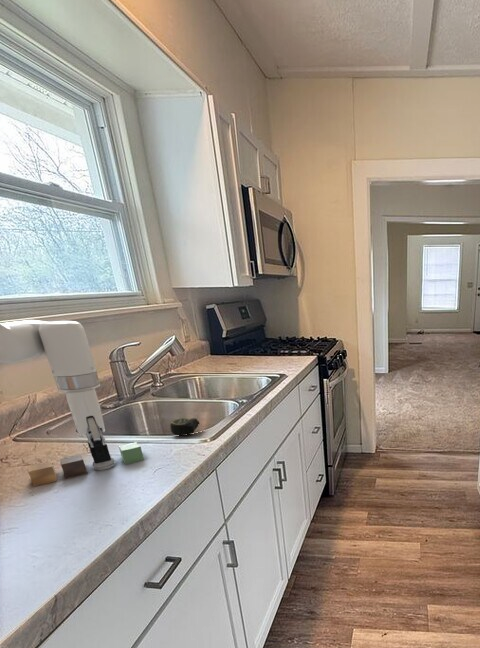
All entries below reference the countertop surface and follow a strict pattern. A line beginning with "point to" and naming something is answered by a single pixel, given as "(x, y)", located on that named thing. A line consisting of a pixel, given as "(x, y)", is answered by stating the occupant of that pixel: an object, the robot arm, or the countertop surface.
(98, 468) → the rook chess piece
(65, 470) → the walnut block
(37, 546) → the countertop surface
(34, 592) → the countertop surface
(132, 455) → the sage block
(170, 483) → the countertop surface
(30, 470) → the maple block
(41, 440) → the countertop surface
